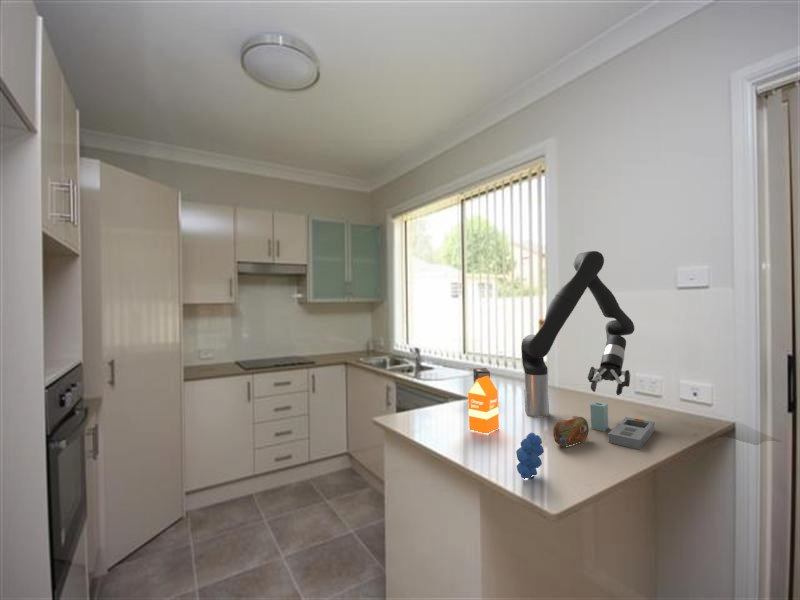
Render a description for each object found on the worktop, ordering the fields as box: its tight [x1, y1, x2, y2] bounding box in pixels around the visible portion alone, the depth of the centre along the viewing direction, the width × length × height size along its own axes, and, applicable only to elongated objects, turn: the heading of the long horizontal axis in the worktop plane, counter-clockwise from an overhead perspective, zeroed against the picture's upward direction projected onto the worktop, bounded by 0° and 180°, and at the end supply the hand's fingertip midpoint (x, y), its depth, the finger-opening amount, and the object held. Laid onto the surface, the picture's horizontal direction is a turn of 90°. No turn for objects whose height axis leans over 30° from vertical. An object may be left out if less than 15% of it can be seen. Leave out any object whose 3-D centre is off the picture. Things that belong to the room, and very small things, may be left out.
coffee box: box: [472, 367, 491, 384], centre depth 172 cm, size 9×6×16 cm
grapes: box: [515, 432, 545, 479], centre depth 101 cm, size 12×7×12 cm, turn 131°
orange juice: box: [467, 376, 500, 433], centre depth 137 cm, size 8×9×20 cm
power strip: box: [607, 416, 656, 450], centre depth 127 cm, size 22×9×4 cm, turn 135°
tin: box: [552, 415, 589, 448], centre depth 123 cm, size 15×3×8 cm, turn 117°
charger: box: [589, 401, 609, 432], centre depth 135 cm, size 4×4×9 cm
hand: (605, 392), depth 140 cm, fingers open, 8 cm apart
